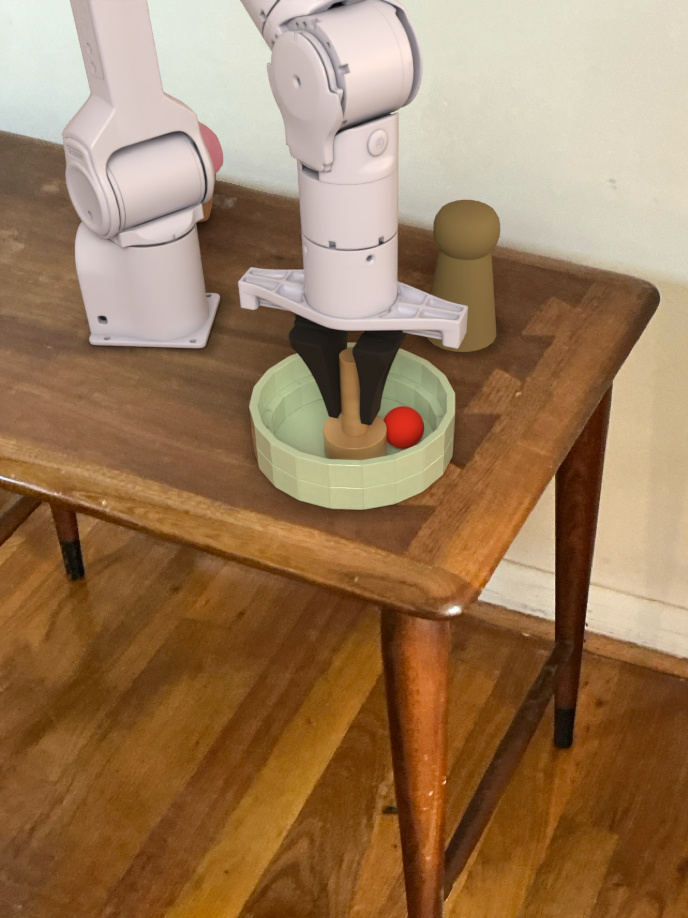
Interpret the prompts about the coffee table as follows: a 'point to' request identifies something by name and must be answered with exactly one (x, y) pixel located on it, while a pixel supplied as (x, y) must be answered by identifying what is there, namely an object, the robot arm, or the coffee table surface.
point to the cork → (467, 267)
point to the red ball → (404, 427)
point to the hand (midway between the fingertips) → (354, 412)
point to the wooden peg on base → (352, 421)
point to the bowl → (349, 481)
